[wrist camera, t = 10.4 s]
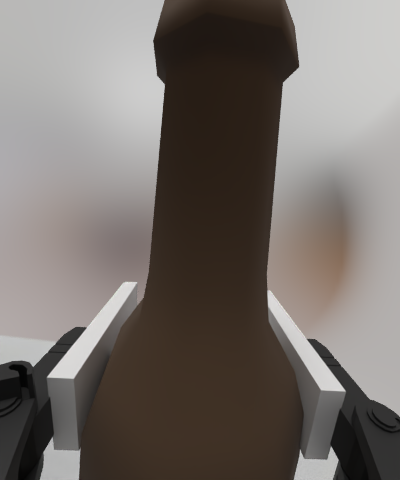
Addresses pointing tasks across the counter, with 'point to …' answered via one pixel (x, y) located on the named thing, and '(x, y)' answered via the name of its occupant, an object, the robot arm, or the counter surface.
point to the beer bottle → (207, 267)
